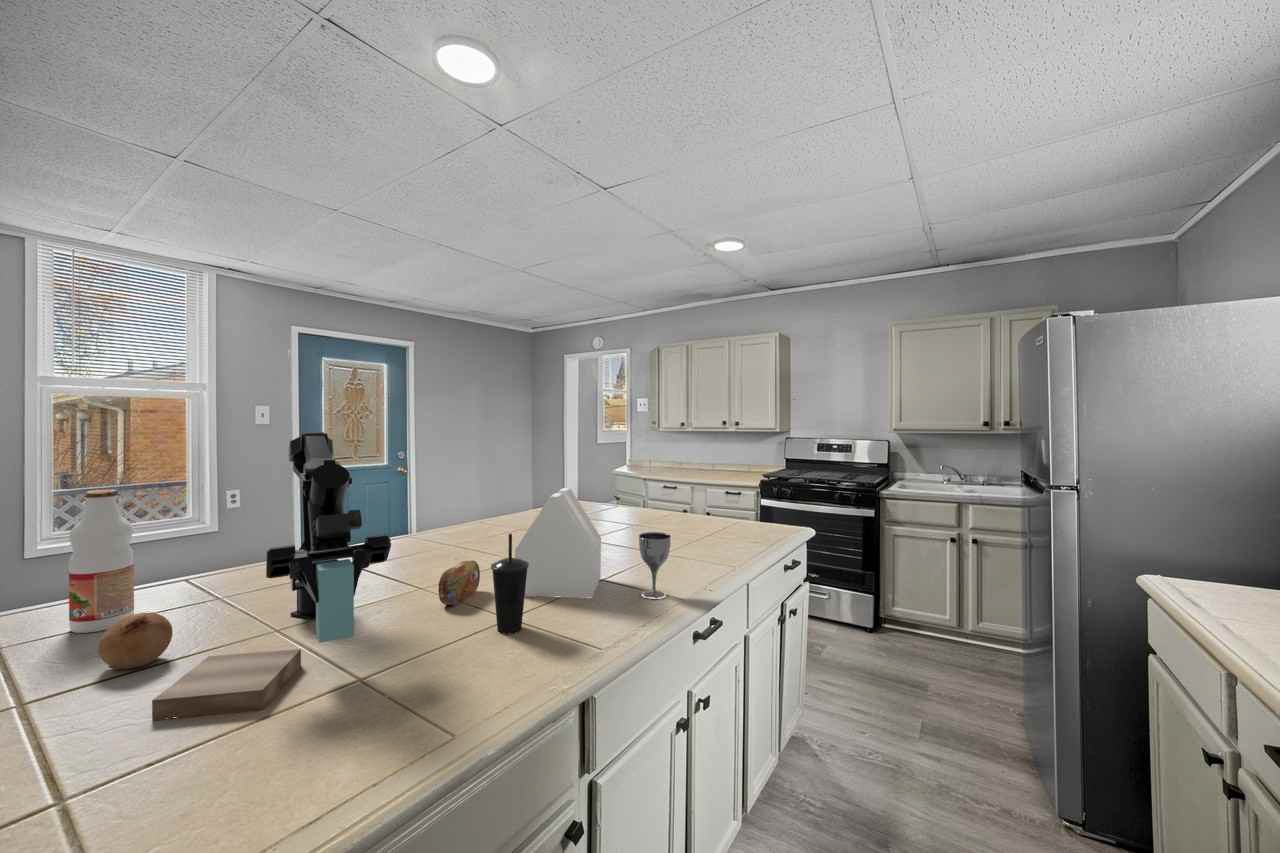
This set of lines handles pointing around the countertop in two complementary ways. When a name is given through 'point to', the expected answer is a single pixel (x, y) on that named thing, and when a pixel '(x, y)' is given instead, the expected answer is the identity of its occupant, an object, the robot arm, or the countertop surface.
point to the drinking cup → (509, 591)
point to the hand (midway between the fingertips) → (335, 598)
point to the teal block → (335, 600)
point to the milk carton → (561, 550)
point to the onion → (135, 641)
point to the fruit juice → (100, 565)
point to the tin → (459, 583)
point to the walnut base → (228, 684)
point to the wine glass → (654, 555)
